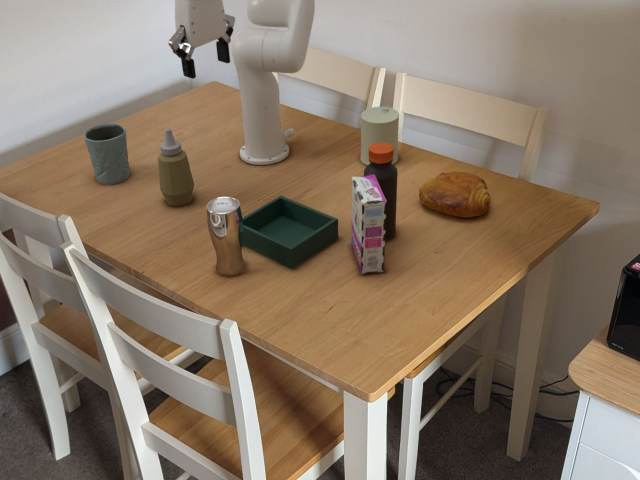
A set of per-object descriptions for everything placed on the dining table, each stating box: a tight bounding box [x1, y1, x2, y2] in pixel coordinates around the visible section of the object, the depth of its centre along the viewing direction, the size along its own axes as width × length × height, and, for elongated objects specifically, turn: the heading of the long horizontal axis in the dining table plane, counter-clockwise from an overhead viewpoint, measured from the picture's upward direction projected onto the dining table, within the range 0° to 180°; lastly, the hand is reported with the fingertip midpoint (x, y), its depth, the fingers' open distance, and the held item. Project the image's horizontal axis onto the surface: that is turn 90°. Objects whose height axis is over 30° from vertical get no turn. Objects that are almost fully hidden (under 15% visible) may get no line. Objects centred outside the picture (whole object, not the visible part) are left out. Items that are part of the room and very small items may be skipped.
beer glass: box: [206, 196, 246, 277], centre depth 160 cm, size 7×7×15 cm
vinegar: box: [363, 143, 399, 241], centre depth 165 cm, size 7×7×20 cm
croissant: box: [418, 170, 491, 219], centre depth 176 cm, size 14×16×8 cm
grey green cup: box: [83, 123, 131, 185], centre depth 198 cm, size 10×10×12 cm
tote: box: [242, 195, 340, 270], centre depth 170 cm, size 15×17×5 cm
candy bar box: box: [350, 175, 387, 275], centre depth 159 cm, size 11×5×16 cm, turn 5°
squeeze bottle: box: [157, 128, 195, 207], centre depth 183 cm, size 8×8×18 cm
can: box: [359, 106, 400, 166], centre depth 193 cm, size 9×9×12 cm
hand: (207, 69), depth 166 cm, fingers open, 9 cm apart
